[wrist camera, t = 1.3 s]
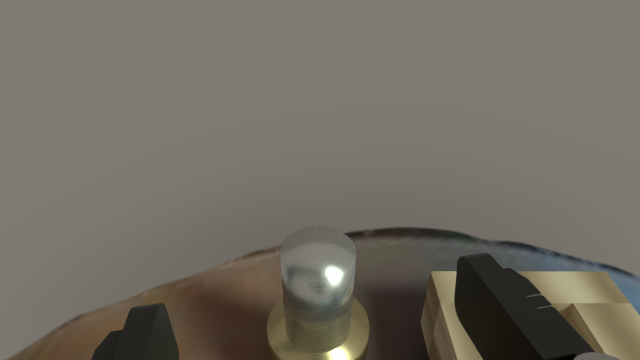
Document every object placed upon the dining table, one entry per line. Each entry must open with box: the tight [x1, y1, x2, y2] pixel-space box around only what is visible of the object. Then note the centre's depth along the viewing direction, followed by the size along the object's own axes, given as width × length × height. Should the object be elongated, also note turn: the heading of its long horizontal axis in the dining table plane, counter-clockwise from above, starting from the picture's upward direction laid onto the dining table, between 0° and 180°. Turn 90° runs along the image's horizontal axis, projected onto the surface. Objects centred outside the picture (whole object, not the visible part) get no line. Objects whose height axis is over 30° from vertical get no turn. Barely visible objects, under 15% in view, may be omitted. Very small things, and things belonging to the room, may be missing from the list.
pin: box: [267, 227, 369, 360], centre depth 28 cm, size 7×7×14 cm
